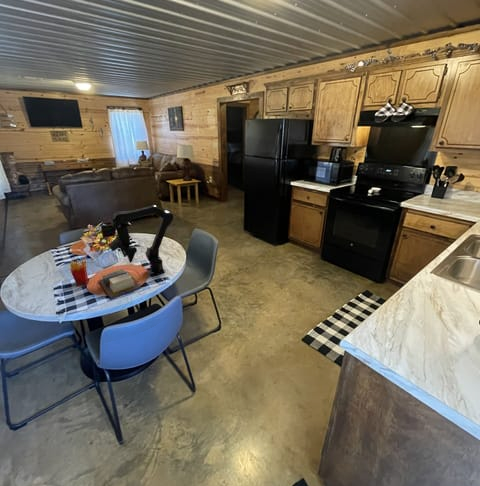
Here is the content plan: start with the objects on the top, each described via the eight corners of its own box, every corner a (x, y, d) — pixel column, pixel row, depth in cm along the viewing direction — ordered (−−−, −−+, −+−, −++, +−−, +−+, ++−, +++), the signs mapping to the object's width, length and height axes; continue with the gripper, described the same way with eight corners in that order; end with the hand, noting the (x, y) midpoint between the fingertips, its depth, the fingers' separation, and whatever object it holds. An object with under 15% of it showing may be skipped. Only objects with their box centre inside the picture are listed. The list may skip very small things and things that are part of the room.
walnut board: (127, 272, 160) (126, 271, 160) (141, 288, 145) (140, 286, 145) (99, 282, 151) (98, 280, 150) (110, 299, 135) (110, 297, 135)
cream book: (128, 276, 148) (127, 272, 147) (132, 280, 143) (131, 276, 143) (109, 282, 142) (109, 278, 141) (113, 287, 137) (112, 283, 137)
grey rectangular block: (125, 273, 157) (123, 268, 156) (127, 277, 153) (126, 271, 152) (103, 280, 150) (102, 275, 148) (106, 284, 146) (104, 278, 145)
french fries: (76, 281, 152) (70, 258, 146) (92, 278, 154) (87, 255, 149) (74, 289, 144) (67, 265, 138) (91, 286, 147) (84, 262, 141)
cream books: (130, 281, 149) (129, 275, 148) (134, 285, 145) (133, 280, 144) (110, 288, 143) (108, 282, 141) (113, 293, 139) (112, 287, 137)
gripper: (102, 233, 146) (108, 258, 152) (113, 243, 133) (118, 270, 139) (123, 228, 153) (127, 252, 159) (135, 237, 140) (139, 263, 146)
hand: (127, 259), depth 151 cm, fingers open, 9 cm apart
